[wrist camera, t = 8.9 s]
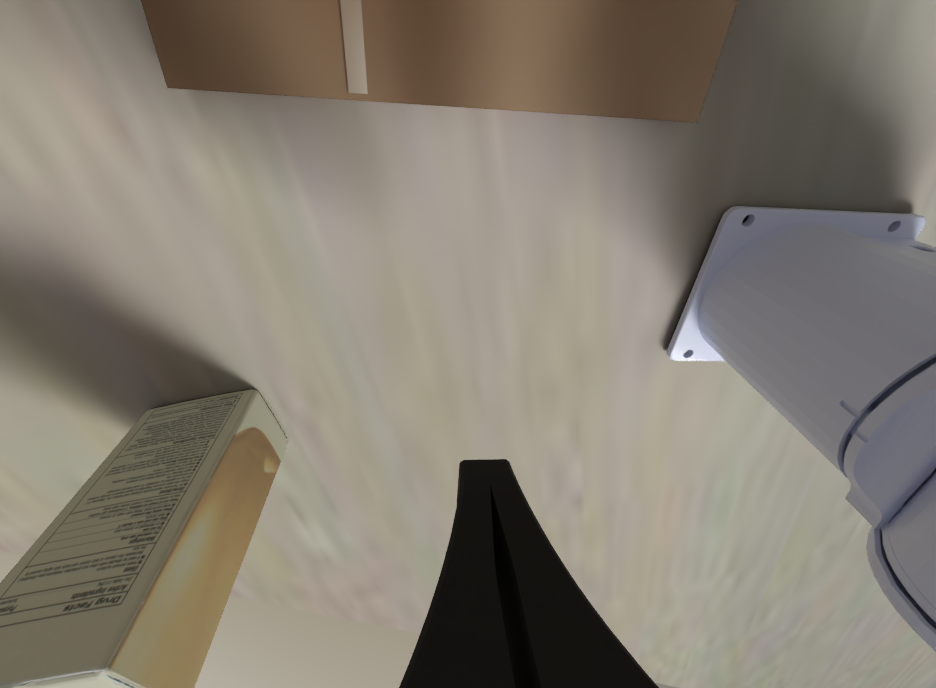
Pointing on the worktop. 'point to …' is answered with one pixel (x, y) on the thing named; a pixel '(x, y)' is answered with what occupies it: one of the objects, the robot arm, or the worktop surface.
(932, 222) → the worktop surface
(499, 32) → the pipe rig
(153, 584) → the skincare box
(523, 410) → the worktop surface
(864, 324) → the robot arm
